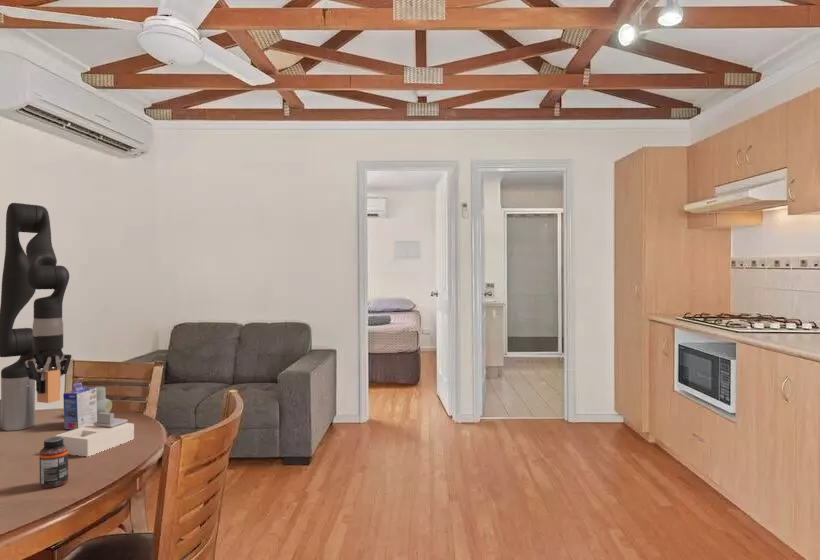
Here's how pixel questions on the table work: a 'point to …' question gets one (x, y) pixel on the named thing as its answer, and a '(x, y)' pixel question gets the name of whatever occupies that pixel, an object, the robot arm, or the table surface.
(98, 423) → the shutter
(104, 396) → the air freshener
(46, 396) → the plug
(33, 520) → the table surface
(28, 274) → the robot arm
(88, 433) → the socket
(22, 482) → the table surface
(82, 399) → the ink cartridge box
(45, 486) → the supplement bottle
